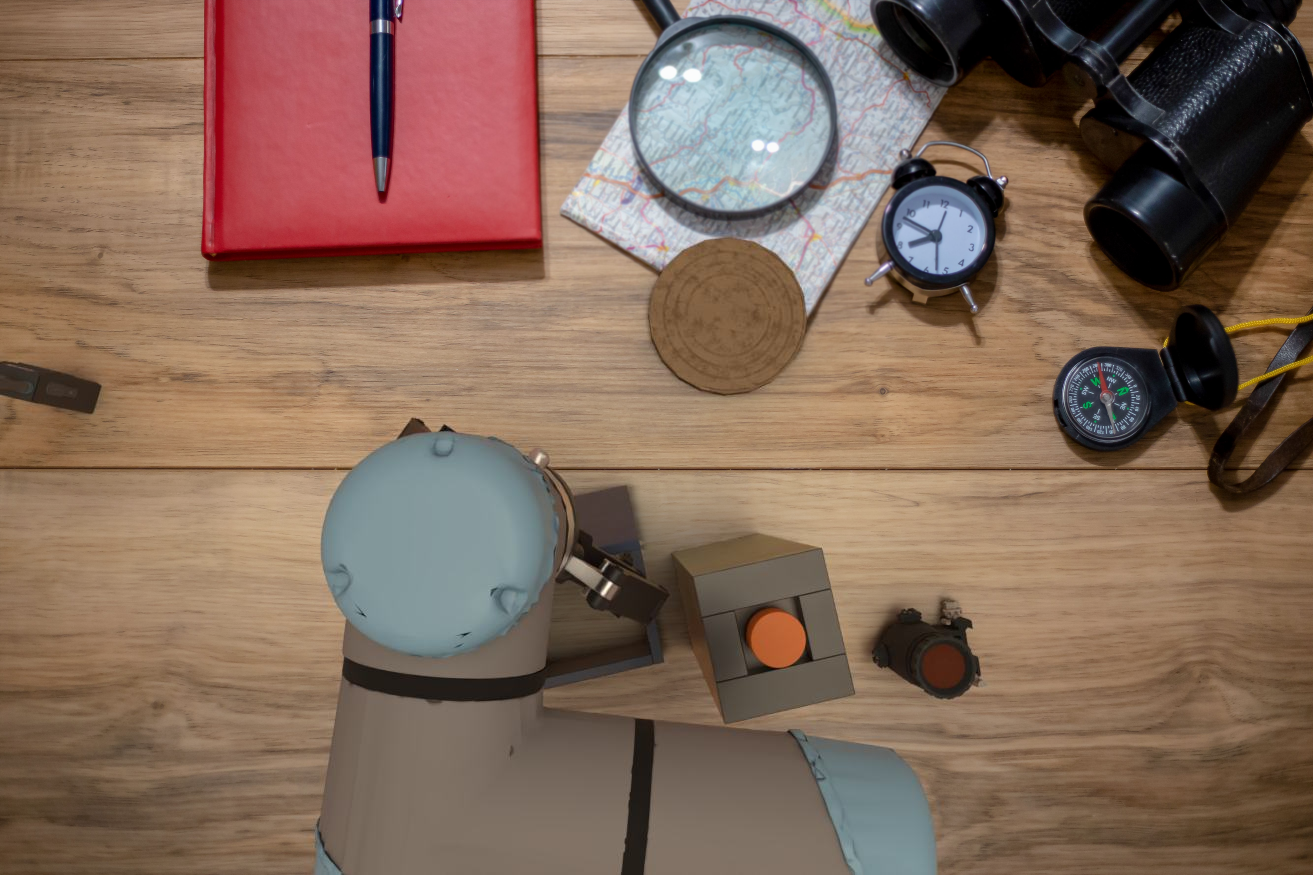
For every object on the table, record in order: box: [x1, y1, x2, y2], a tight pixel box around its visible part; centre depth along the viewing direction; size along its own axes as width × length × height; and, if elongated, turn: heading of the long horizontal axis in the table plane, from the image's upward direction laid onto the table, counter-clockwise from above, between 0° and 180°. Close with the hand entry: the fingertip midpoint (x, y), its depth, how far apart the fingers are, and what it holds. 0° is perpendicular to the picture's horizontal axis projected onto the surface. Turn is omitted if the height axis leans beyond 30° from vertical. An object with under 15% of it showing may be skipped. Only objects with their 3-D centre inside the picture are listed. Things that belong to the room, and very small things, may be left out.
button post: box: [671, 532, 856, 725], centre depth 74 cm, size 10×9×30 cm
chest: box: [543, 548, 666, 691], centre depth 84 cm, size 16×13×9 cm
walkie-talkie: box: [0, 360, 102, 415], centre depth 78 cm, size 5×3×20 cm
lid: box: [573, 484, 641, 556], centre depth 71 cm, size 17×13×1 cm
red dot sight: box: [871, 599, 989, 701], centre depth 82 cm, size 8×14×10 cm
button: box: [746, 608, 806, 668], centre depth 58 cm, size 4×4×2 cm
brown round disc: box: [648, 236, 808, 397], centre depth 89 cm, size 16×16×3 cm
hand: (542, 518), depth 64 cm, fingers open, 13 cm apart
